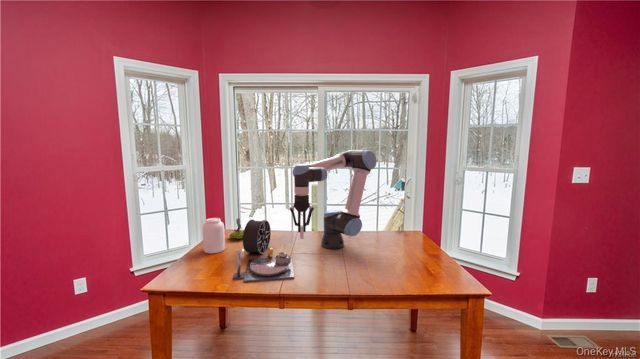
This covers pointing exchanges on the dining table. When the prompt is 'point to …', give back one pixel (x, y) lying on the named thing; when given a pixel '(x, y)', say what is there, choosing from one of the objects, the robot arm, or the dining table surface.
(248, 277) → the turntable base
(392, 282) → the dining table surface
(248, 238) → the wheel rim
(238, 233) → the figurine
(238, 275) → the dial stand
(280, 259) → the cover
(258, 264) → the turntable
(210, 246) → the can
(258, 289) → the dining table surface
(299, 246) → the dining table surface
